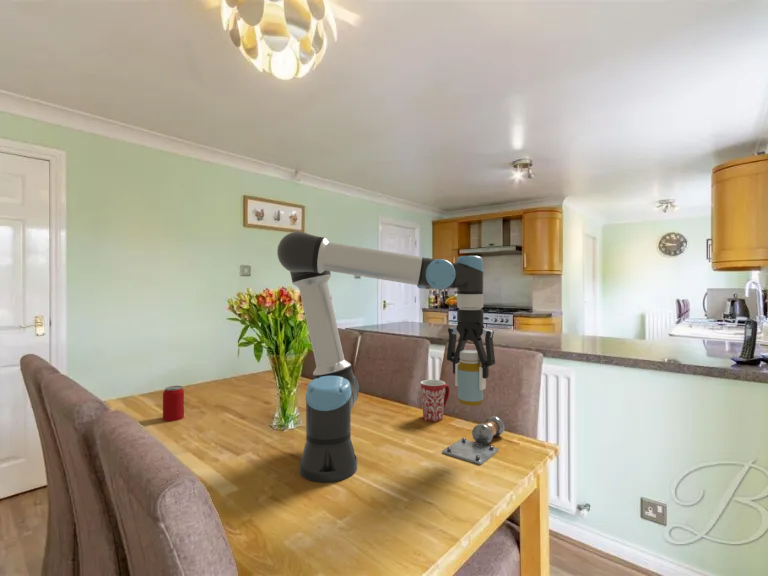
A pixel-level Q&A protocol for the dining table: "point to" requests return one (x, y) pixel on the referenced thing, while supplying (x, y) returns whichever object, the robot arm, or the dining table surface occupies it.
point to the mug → (434, 399)
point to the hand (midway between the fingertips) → (470, 387)
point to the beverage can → (173, 403)
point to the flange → (478, 442)
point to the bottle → (469, 378)
